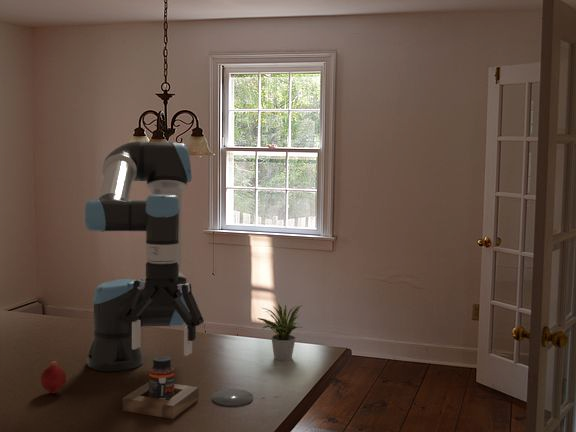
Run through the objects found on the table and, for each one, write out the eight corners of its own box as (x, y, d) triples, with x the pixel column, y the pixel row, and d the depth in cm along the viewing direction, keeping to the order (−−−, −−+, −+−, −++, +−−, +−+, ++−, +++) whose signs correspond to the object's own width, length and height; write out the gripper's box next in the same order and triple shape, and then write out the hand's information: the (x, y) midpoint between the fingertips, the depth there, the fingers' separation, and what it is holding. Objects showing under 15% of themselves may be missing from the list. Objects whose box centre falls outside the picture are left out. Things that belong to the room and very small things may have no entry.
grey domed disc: (205, 402, 163) (205, 400, 163) (221, 389, 172) (221, 386, 172) (243, 408, 160) (244, 406, 160) (258, 394, 169) (258, 392, 169)
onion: (51, 399, 163) (51, 367, 162) (35, 394, 166) (35, 362, 165) (71, 392, 168) (70, 360, 167) (55, 387, 171) (55, 356, 170)
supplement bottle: (168, 410, 157) (168, 363, 156) (144, 408, 159) (144, 361, 157) (177, 401, 163) (178, 355, 162) (154, 399, 164) (154, 353, 163)
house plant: (281, 346, 211) (282, 295, 209) (317, 356, 202) (318, 302, 200) (250, 357, 200) (251, 302, 198) (286, 367, 191) (288, 310, 189)
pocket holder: (122, 410, 157) (122, 398, 156) (150, 392, 169) (150, 380, 169) (173, 418, 153) (173, 405, 152) (198, 399, 165) (198, 387, 165)
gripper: (106, 259, 158) (106, 349, 160) (204, 267, 150) (203, 361, 152) (123, 255, 165) (123, 341, 167) (218, 262, 157) (217, 352, 159)
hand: (161, 351), depth 159 cm, fingers open, 13 cm apart
